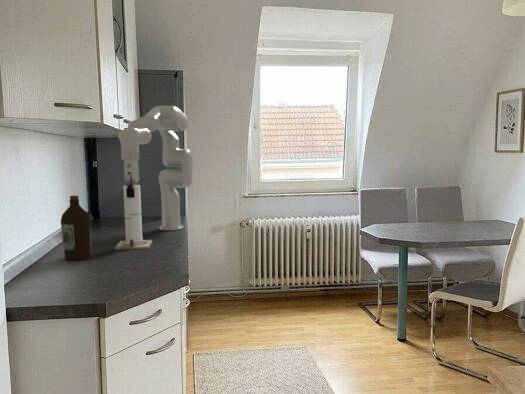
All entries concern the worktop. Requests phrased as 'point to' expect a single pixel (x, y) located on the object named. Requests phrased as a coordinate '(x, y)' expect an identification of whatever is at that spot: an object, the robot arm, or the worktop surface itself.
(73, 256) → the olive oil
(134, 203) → the cylindrical container
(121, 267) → the worktop surface
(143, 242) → the locking base
